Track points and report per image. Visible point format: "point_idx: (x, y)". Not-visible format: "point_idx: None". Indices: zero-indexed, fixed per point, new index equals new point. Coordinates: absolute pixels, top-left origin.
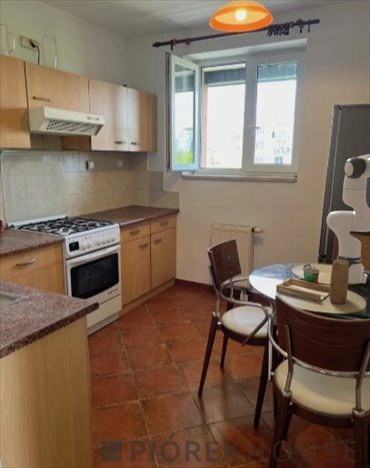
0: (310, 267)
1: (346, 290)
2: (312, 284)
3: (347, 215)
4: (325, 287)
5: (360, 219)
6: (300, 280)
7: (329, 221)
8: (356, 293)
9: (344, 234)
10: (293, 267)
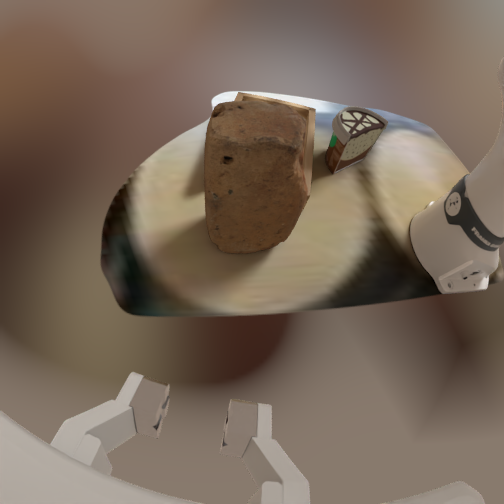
0: (365, 122)
1: (213, 227)
2: (305, 152)
3: None
4: None
5: None
6: (311, 126)
7: (502, 59)
8: (348, 279)
9: None
10: (423, 135)
